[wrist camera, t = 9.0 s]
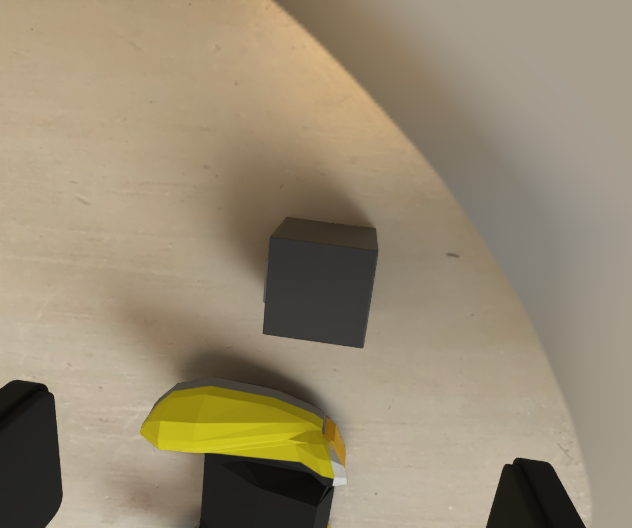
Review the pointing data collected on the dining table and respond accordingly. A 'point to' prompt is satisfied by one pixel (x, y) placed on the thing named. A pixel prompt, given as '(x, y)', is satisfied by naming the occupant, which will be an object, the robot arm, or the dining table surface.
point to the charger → (320, 282)
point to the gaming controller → (252, 452)
